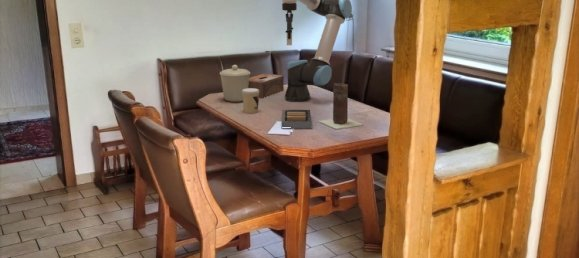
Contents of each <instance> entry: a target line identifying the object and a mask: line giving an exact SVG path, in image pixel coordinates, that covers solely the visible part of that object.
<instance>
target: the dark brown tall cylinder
mask: <svg viewBox="0 0 579 258" xmlns="http://www.w3.org/2000/svg"><path fill="white" fill-rule="evenodd" d="M348 87H349V85H348V84H347V83H346V84H345V83H343V82H341V83H340V82H334V83H333V87H332V88H333V90H332V91H333V98H332V99H333V100H332V102H333V103H332V119H333V122H334V123H335V124H342V123H346V122H347V121H348V119H349V118H348V116H349V115H348V113H349V112H348V108H349V107H348V103H349V102H348V101H349V100H348V96H349V89H348Z"/></svg>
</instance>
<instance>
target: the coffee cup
mask: <svg viewBox="0 0 579 258" xmlns="http://www.w3.org/2000/svg"><path fill="white" fill-rule="evenodd" d="M242 96H243V101H242V107H243V112H244V113H245V114H255V113H258V112H259V104H260V103H259V99H260V98H259V90H258V89H255V88H247V89H243V90H242Z"/></svg>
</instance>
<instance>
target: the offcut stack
mask: <svg viewBox="0 0 579 258" xmlns="http://www.w3.org/2000/svg"><path fill="white" fill-rule="evenodd" d="M287 121H306V117H305V112H287Z"/></svg>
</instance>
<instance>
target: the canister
mask: <svg viewBox="0 0 579 258" xmlns="http://www.w3.org/2000/svg"><path fill="white" fill-rule="evenodd" d="M219 75H220V79H221V86H222V87H221V88H222V91H223V92H222V93H223V97H224V99H225V101H227V102H231V103H232V102H233V103H239V102H243V96H242V90H243V89H247V88H248V86H249V78H250V75H251V71H249V70H248V69H245V68H239V66H238V65H237V64H233V65H231V68H227V69H223V70H221V71H220V72H219Z"/></svg>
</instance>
